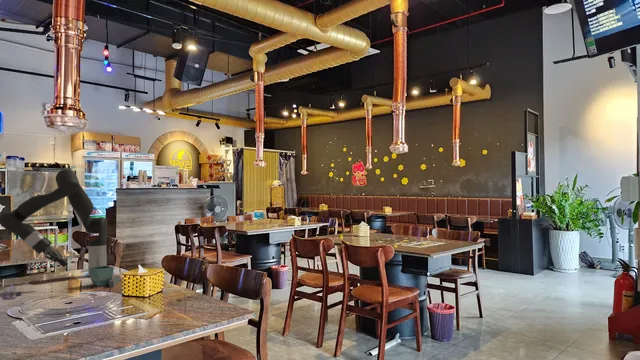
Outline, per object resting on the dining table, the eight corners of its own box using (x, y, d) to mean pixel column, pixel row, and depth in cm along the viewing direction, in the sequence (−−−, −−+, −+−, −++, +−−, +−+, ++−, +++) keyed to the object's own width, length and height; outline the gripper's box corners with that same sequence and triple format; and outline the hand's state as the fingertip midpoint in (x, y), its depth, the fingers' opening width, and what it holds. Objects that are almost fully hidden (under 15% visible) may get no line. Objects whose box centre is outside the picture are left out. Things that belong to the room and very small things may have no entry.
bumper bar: (109, 287, 204) (109, 281, 205) (115, 281, 220) (115, 275, 220) (113, 287, 205) (113, 281, 205) (119, 280, 220) (119, 275, 220)
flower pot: (114, 284, 212) (114, 266, 212) (97, 287, 205) (97, 269, 205) (105, 282, 217) (105, 265, 217) (88, 285, 210) (88, 268, 210)
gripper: (36, 246, 209) (64, 269, 212) (26, 249, 196) (55, 273, 199) (49, 235, 211) (75, 258, 213) (39, 237, 198) (68, 261, 201)
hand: (65, 265), depth 206 cm, fingers closed
